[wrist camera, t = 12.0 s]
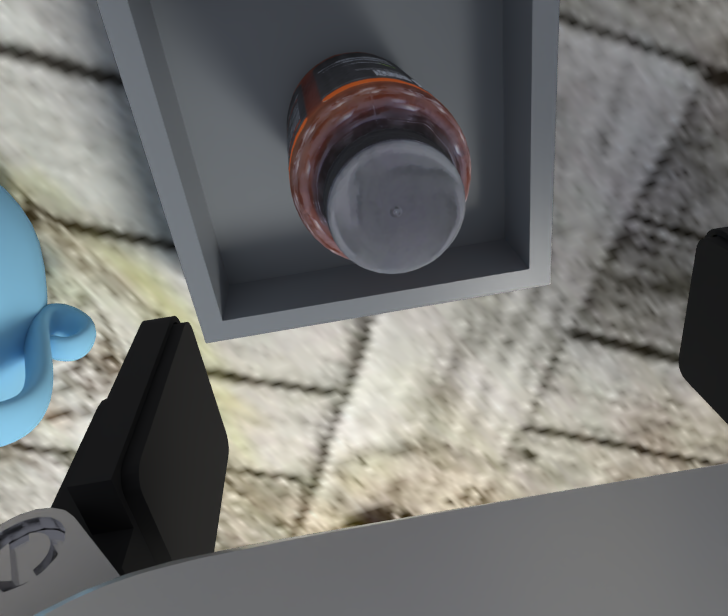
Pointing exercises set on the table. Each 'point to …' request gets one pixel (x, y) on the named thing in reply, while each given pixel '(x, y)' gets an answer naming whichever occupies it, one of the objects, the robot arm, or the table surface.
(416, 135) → the supplement bottle
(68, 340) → the decorative pot
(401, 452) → the table surface
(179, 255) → the tray
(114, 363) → the table surface
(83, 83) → the table surface
